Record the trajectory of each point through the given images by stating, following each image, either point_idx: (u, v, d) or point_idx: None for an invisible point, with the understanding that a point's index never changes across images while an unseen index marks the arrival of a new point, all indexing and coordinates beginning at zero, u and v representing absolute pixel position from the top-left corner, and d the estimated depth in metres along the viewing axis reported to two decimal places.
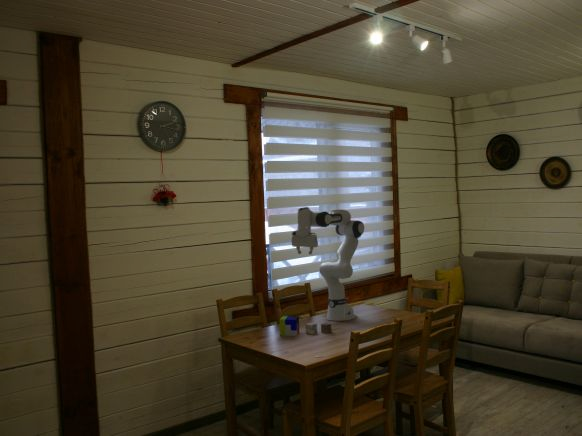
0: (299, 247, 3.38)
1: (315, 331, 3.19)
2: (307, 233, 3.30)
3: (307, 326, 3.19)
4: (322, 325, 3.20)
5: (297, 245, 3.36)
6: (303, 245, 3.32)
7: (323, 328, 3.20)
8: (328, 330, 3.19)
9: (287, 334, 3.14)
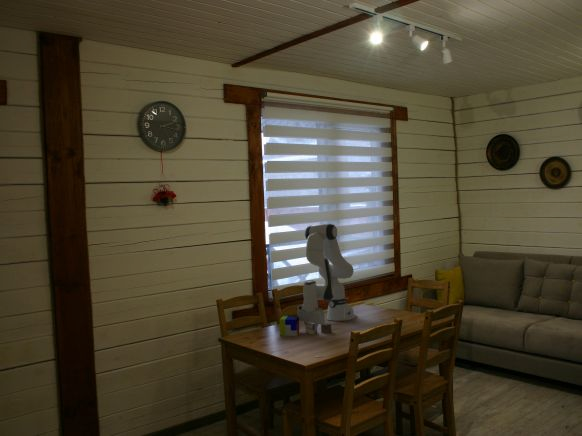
0: (307, 322, 3.23)
1: (315, 331, 3.19)
2: (314, 309, 3.16)
3: (307, 326, 3.19)
4: (322, 325, 3.20)
5: (303, 320, 3.22)
6: (309, 321, 3.18)
7: (323, 328, 3.20)
8: (328, 330, 3.19)
9: (287, 334, 3.14)
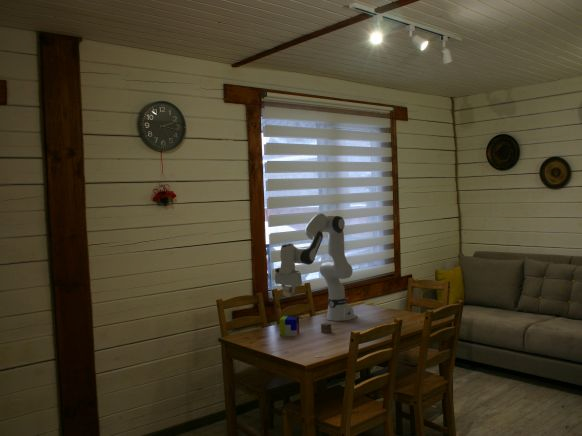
0: (284, 285, 3.21)
1: (292, 294, 3.17)
2: (291, 271, 3.15)
3: (284, 289, 3.17)
4: (322, 325, 3.20)
5: (280, 283, 3.21)
6: (287, 283, 3.17)
7: (323, 328, 3.20)
8: (328, 330, 3.19)
9: (287, 334, 3.14)
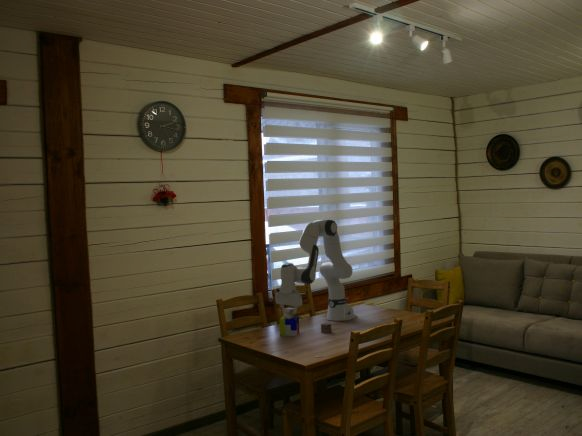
0: (283, 304, 3.23)
1: (293, 316, 3.18)
2: (291, 291, 3.15)
3: (285, 311, 3.18)
4: (322, 325, 3.20)
5: (281, 302, 3.21)
6: (287, 303, 3.17)
7: (323, 328, 3.20)
8: (328, 330, 3.19)
9: (287, 334, 3.14)
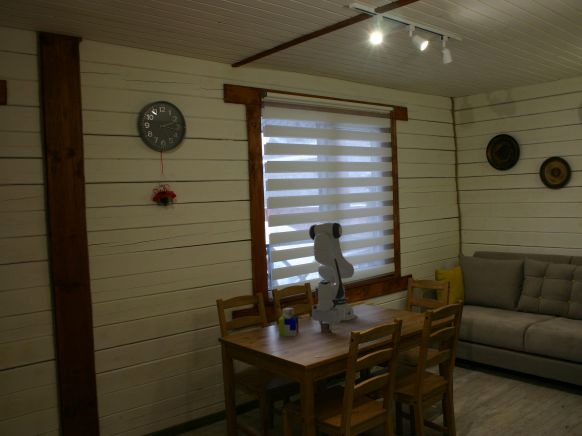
0: (322, 321, 3.23)
1: (292, 316, 3.18)
2: (329, 308, 3.17)
3: (284, 311, 3.18)
4: (322, 325, 3.20)
5: (318, 319, 3.23)
6: (324, 320, 3.19)
7: (323, 328, 3.20)
8: (328, 330, 3.19)
9: (286, 334, 3.14)
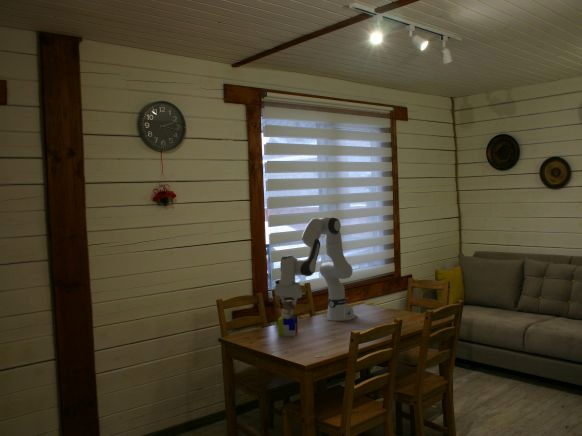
0: (283, 296, 3.23)
1: (291, 316, 3.18)
2: (291, 283, 3.15)
3: (283, 311, 3.18)
4: (284, 302, 3.18)
5: (281, 294, 3.21)
6: (287, 295, 3.17)
7: (285, 305, 3.18)
8: (290, 307, 3.17)
9: (285, 334, 3.15)
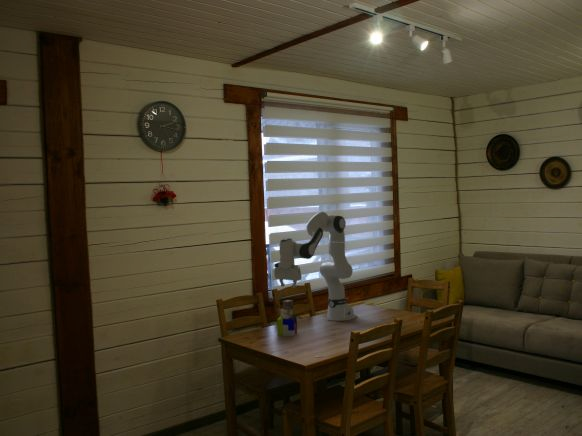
0: (282, 279, 3.23)
1: (290, 316, 3.18)
2: (290, 265, 3.14)
3: (282, 311, 3.18)
4: (284, 302, 3.18)
5: (280, 277, 3.21)
6: (286, 278, 3.17)
7: (284, 305, 3.18)
8: (289, 307, 3.17)
9: (285, 334, 3.15)
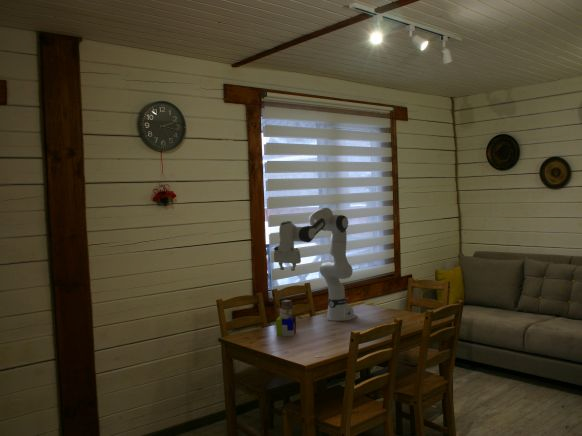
0: (282, 263, 3.22)
1: (289, 316, 3.18)
2: (290, 248, 3.14)
3: (281, 311, 3.18)
4: (282, 302, 3.18)
5: (279, 261, 3.20)
6: (285, 261, 3.17)
7: (283, 305, 3.18)
8: (288, 307, 3.17)
9: (284, 334, 3.15)
